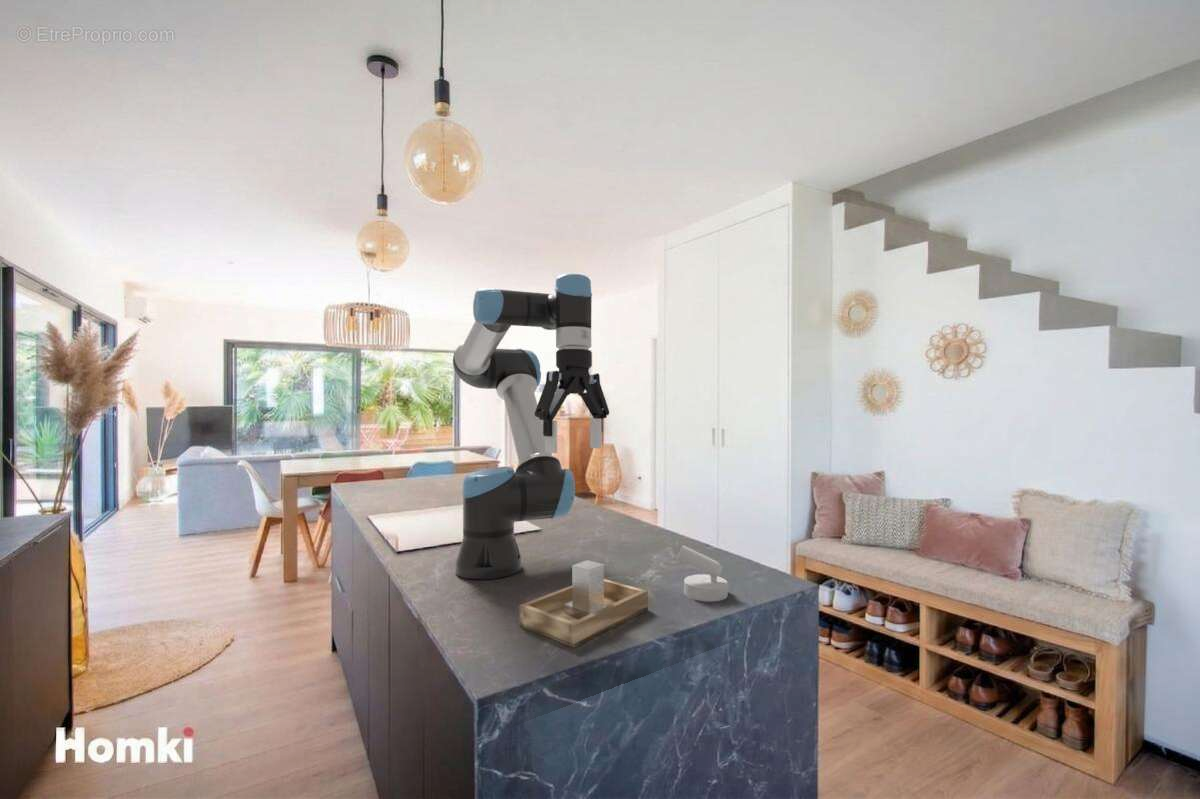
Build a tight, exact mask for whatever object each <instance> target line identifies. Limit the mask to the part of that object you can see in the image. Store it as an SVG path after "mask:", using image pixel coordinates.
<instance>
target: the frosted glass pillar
mask: <svg viewBox="0 0 1200 799" xmlns="http://www.w3.org/2000/svg"><path fill="white" fill-rule="evenodd" d="M604 568H605V566H604V563H599V562H596V561H592V560H588V559H587V560H584V561H581V562H578V563H575V564H573V565H571V570H572V573H571V574H572V575H571V583H572V602H570V603H567V604H565V613H566V614H569V615H572V616H575V617H578V618H580V619H581V618H583V617H585V616H587V615H589V614H592V613H594V612H596V611H598V610H600V609H602V608H605V606H604V579H605V576H604V575H605V570H604Z"/></svg>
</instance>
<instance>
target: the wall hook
mask: <svg viewBox="0 0 1200 799" xmlns="http://www.w3.org/2000/svg"><path fill="white" fill-rule="evenodd" d="M676 560H679V561H680V562H682V563H684V564H686V565H688V566H690V567H692V568H694V569H696V570H698V571H700V572H703V574H692V575H688V576H686V577H685V578H684V580H683V595H685V596H686V597H687V598H689V599H691V600H694V601H698V602H706V603H707V602H708V603H709V602H718V601H719V602H720V601H723V600H725V599H727V597H728V596H729V594H728V592H729V591H728V580H726V579H725V578H723V577H721V575H722V573H723V566H722V565H721V564H720V563H719V562H718V561H717V560H715V559H712V558H711V557H708V556H707V555H704V554H702V553H700V552H699V551H696V550H694V549H692V548H690V547H688V546H685V545H683V544H682V545H681V547H680V550H679V552H678V554H677V558H676Z"/></svg>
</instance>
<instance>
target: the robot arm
mask: <svg viewBox="0 0 1200 799" xmlns="http://www.w3.org/2000/svg"><path fill="white" fill-rule="evenodd" d="M591 284H592V282H591V279H590V278H589V277H588V276H586V275H584V274H580V273H579V274H578V273H565V274H561V275H559V276H557V278H556V279H555V287H554V291H555V292H554V293H543V292H542V293H541V292H531V291H521V290H519V291H518V290H509V289H501V288H500V289H499V288H496V287H494V288H493V287H492V288H478V289H477V290H476V292H475V293H474V298H473V305H472V310H473V311H472V313H473V318H474V320H475V321H474V323H473V325H472V327H471V329H470V331H469V333H468V335H467V337H466V339H465V341H464V342H463V343H461V344H460V345H458V347H456V349H455V351H454V354H453V357H452V366H453V370H454V371H455V373H456V375H457V376H458V377H459V379H460V380H461V381H463V383H465V384H467V385H469V386H471V387H473V388H477V389H486V390H490V389H491V390H496V393H497V396H498V397H499V398H500V399H501V400H503V401H504V405H505V408H506V412H507V417H508V421H509V425H510V430H511V431H510V432H511V435H512V438H513V442H514V447H515V451H516V456H517V460H518V465H517V467H516V469H515V470H514V467H512V466H499V467H498V466H495V467H488V468H483V469H480V470H475V471H472V472H470V473H468V474H467V475H466V476H465V477H464V479H463V483H462V484H463V485H462V494H461V497H462V540H461V543H460V546H459V550H458V554H457V558H456V560H455V563H454V564H455V571H454V572H455V574H456V575H457V576H458V577H461V578H465V579H468V580H469V579H470V580H494V579H500V578H505V577H509V576H512V575H515V574H517V573H519V572H520V571H521V570H522V568H523V566H522V555H521V554H520V550H519V545H518V543H517V540H516V537H515V526H514V525H515V523H516V522H525V521H526V522H527V521H536V520H537V521H538V520H547V519H552V520H553V519H554V518H561V517H565V516H567V515H569V513H570V512H571V510H572V507H573V504H574V501H575V494H576V483H575V482H576V481H575V477H574V474H573V471H572V470H570V469H569V468H562V464H561V462H560V459H559V458H558V457H556V456H555V455H552V454H558V420H555V418H556V416H557V414H558V412H559V411H560V409H561V407H562V405H563V404H564V402H565V400H566V399H567V397H568V396H569V395H571V394H575V395H578V396H580V397H581V400H582V401H583V403H584V404H585V405H586V408H587V409H588V411H589V413H590V414H591V415H590V416H592V418H589V448H590V449H602V445H603V444H602V442H603V441H602V437H603V436H602V433H603V431H604V430H603V419H606V418H607V417H608V416H609V415H610V409H609V407H608V403H607V400H606V397H605V394H604V391H603V388H602V385H601V379H600V378H601V377H600V373H597V372H596V373H590V371H589V370H590V368H592V365H593V354H592V353H593V352H592V350H590V348H592V301H593V300H592V298H593V297H592V296H593V293H592V285H591ZM511 326H517V327H518V326H519V327H533V328H541V329H544V330H547V331H555V347H556V348H557V350H556V351H555V366H556V368H557V369H558V370H549V371H547V372H546V374H545V375H546V377H545V378H546V379H545V384H544V387H543V389H542V391H541V394H540V397H539V400H538V402H537V396H536V395H535V393H536V391H537V388H538V387H540V386H539V385H540V383H541V381H542V380H541V378H542V372H541V363H540V360H539V358H538V356H537V354H535V353H534V351H532V350H529V349H523V348H515V349H510V348H498V346H499V345H500V343H501V342H502V340H503V339H504V337H505V336H506V334H507V332H508V331H509V330H510V329H511Z"/></svg>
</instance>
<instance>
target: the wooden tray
mask: <svg viewBox="0 0 1200 799" xmlns="http://www.w3.org/2000/svg"><path fill="white" fill-rule="evenodd" d="M648 597H649V595H648V590H645V589H642V588H638V587H635V586H631V585H628V584H627V585H626V584H624V583H621V582H617V581H613V580H609V579H606V578H604V606H605V608H602V609H600V610H598V611H596V612H594V613H592V614H589V615H587V616H585V617H583V618H581V619H580V618H578V617H575V616H572V615H569V614H566V613H565V604H567V603H570V602H572V585H569V586H567V587H564V588H561V589H559V590H556V591H553V592H551V593H548V594H546V595H544V596H540V597H538V598H536V599H533V600H530V601H528V602H525V603H522V604H520V605H519V616H518V617H519V619H518V620H519V627H521V628H523V629H527V630H529V631H531V632H534V633H536V634H539V635H541V636H544V637H546V638H549V639H551V640H553V641H556V642H558V643H561V644H564V645H566V646H568V647H571V648H573V649H575V648H576V647H578V646H580V645H582V644H585V643H586V642H588V641H590V640H592V639H594V638H595V637H598V636H600V635H601V634H604V633H605V632H607V631H609V630H611V629H613V628H615V627H617V626H618V625H621V624H623V623H625V622H626V621H629V620H630V619H633V618H634V617H636V616H639V615H640V614H642V613H644V612H646V611H648V609H649V606H648V604H649V602H648V600H649V599H648Z"/></svg>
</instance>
